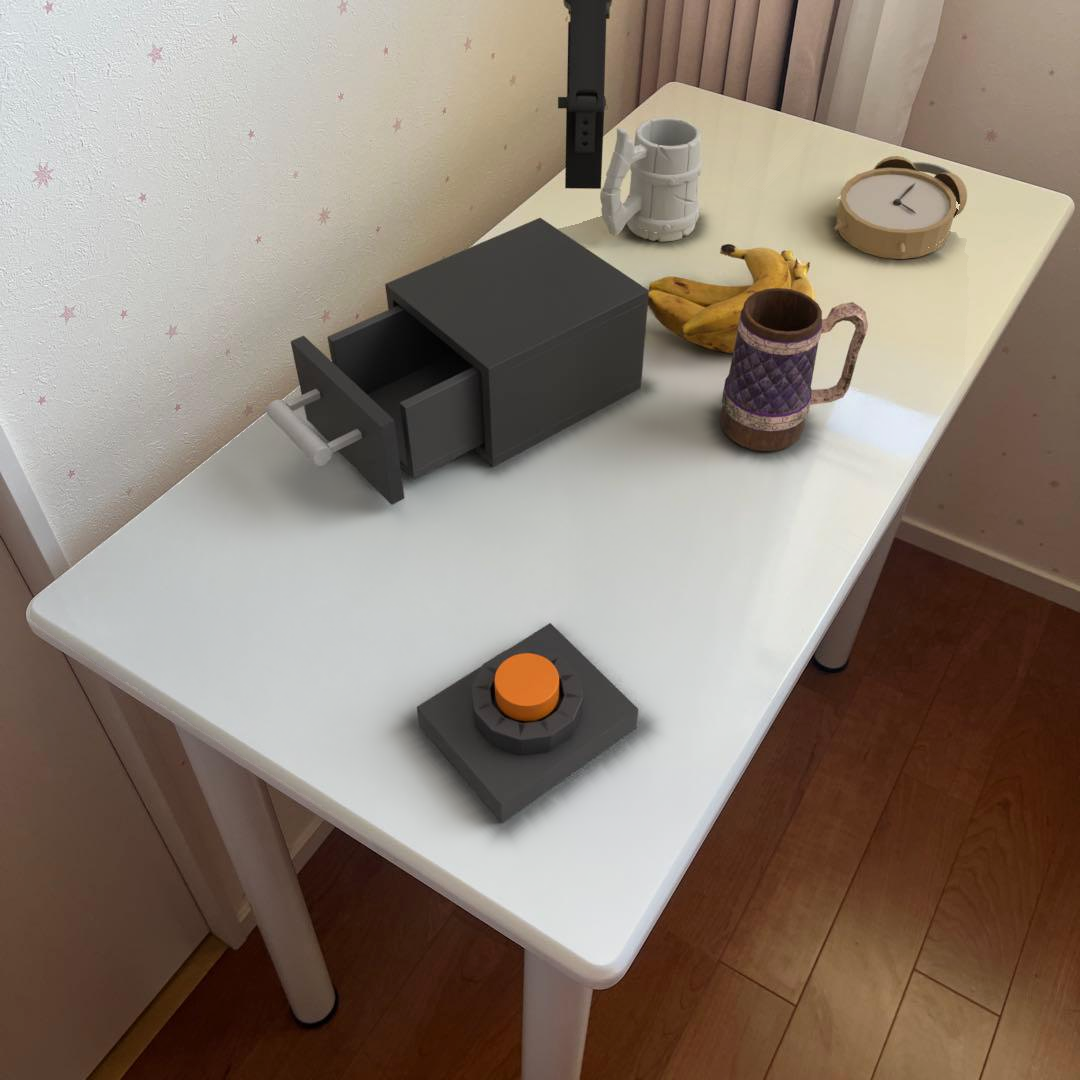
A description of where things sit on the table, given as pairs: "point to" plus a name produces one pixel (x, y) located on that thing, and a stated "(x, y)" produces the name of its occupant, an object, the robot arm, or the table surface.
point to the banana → (723, 297)
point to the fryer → (533, 330)
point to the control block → (526, 726)
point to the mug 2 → (781, 367)
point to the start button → (526, 687)
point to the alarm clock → (900, 208)
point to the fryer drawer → (384, 401)
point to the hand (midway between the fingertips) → (583, 142)
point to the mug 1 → (655, 180)
